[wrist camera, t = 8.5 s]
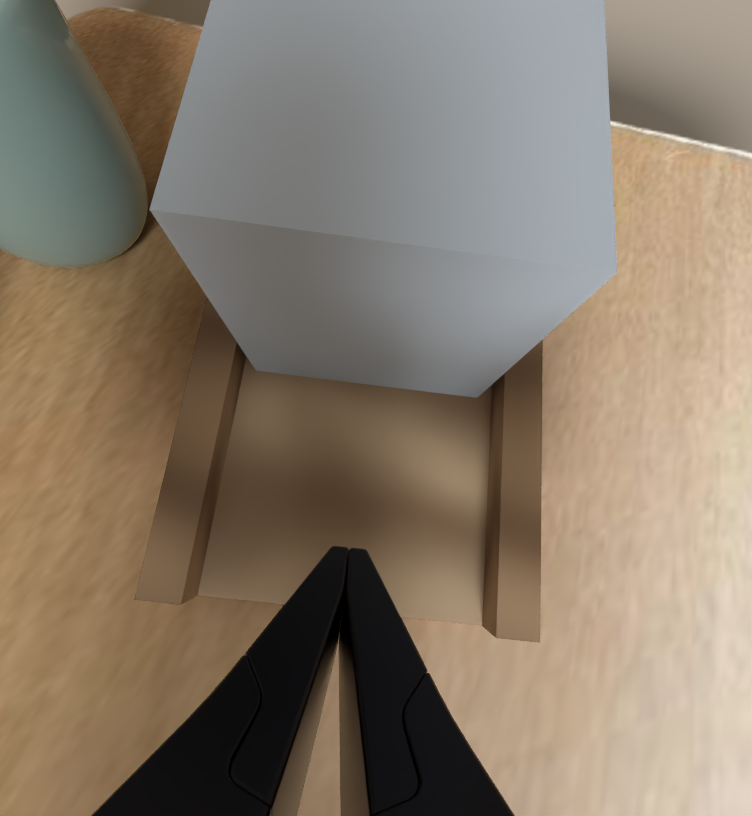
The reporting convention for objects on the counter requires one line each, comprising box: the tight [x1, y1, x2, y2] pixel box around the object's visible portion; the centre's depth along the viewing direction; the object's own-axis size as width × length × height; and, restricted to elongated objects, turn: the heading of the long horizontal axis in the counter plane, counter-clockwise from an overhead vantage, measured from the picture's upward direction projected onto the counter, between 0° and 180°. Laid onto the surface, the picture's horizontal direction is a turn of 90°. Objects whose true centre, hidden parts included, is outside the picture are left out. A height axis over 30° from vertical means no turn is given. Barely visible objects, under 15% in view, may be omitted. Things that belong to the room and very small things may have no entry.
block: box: [149, 0, 617, 398], centre depth 15 cm, size 9×10×10 cm
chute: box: [134, 297, 543, 643], centre depth 18 cm, size 22×14×3 cm, turn 174°
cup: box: [0, 0, 148, 268], centre depth 16 cm, size 8×8×10 cm
